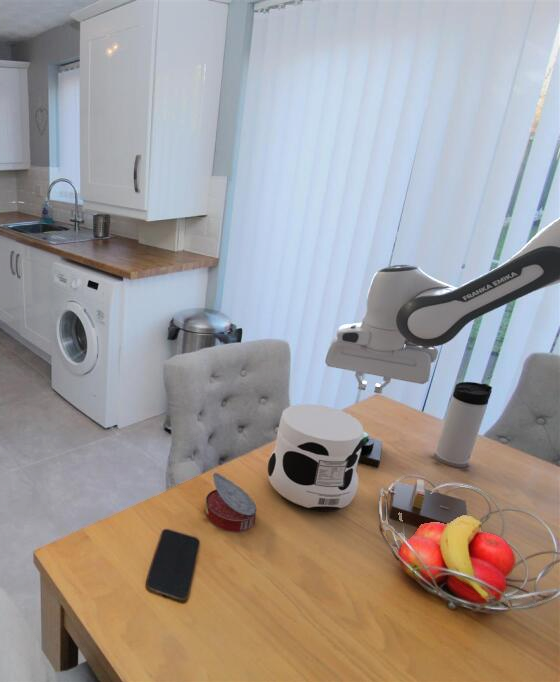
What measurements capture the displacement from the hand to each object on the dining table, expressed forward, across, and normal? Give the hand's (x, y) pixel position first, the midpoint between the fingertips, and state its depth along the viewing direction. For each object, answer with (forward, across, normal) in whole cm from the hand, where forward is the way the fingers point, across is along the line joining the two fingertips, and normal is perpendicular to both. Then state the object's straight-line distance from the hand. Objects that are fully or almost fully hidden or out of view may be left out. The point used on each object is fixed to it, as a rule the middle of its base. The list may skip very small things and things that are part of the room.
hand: (369, 390), depth 114 cm
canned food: (+17, +19, +40) cm, 48 cm away
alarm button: (+13, 0, 0) cm, 13 cm away
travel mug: (+17, -19, -8) cm, 27 cm away
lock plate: (+17, -14, +18) cm, 29 cm away
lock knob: (+14, -12, +18) cm, 26 cm away
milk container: (+17, +7, +23) cm, 30 cm away
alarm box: (+17, 0, 0) cm, 17 cm away
